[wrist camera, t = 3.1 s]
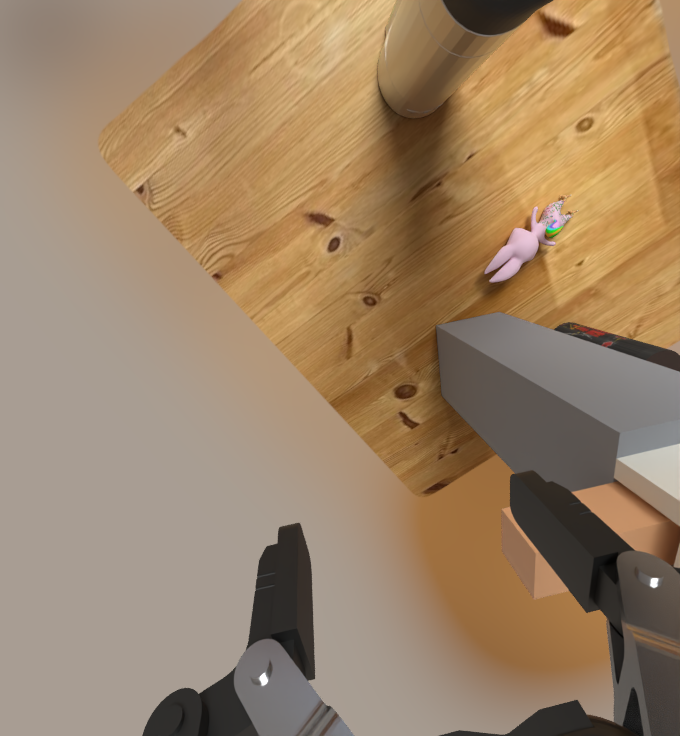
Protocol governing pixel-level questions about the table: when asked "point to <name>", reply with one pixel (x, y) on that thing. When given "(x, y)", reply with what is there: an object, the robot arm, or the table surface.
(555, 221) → the pink toy figure
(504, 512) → the plug
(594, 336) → the deodorant
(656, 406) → the socket post
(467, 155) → the table surface
